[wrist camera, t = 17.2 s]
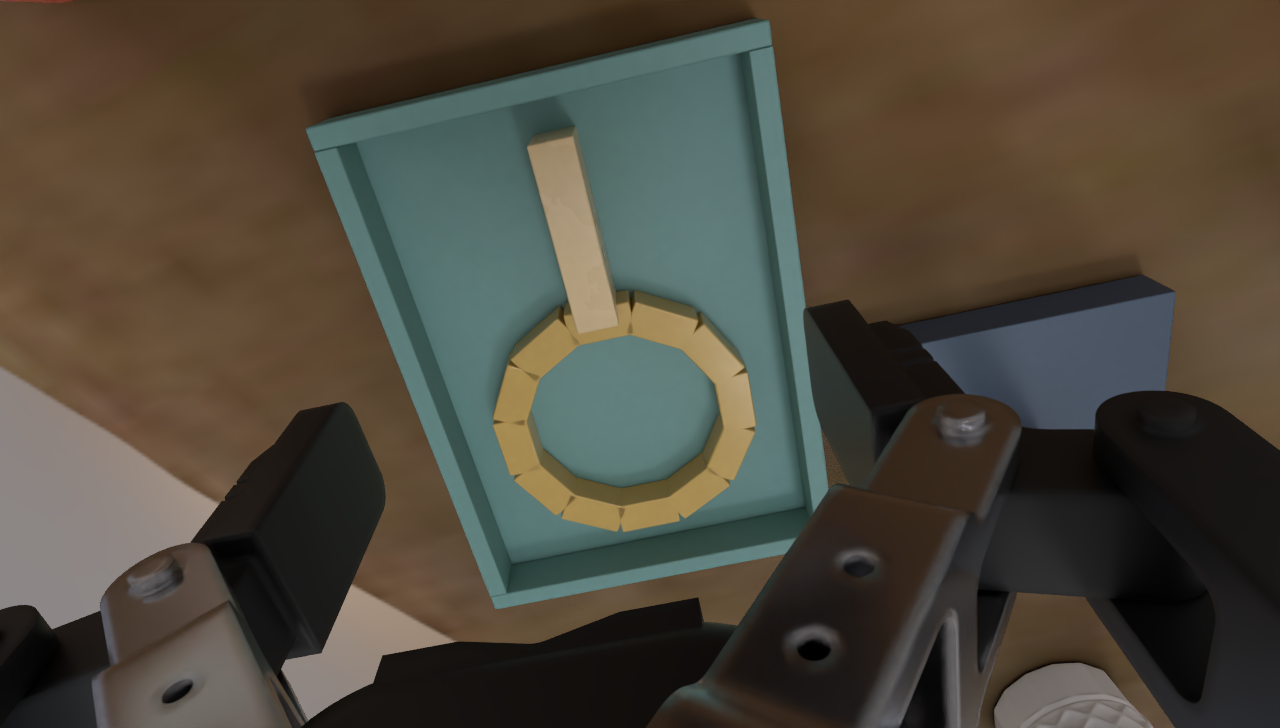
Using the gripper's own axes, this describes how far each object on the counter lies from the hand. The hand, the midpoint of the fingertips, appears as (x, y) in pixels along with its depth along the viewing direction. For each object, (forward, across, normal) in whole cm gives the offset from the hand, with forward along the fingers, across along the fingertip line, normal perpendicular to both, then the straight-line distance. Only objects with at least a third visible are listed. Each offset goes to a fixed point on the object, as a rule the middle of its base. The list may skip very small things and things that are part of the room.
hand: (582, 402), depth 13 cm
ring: (+16, +1, +6) cm, 18 cm away
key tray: (+17, +1, +6) cm, 18 cm away
